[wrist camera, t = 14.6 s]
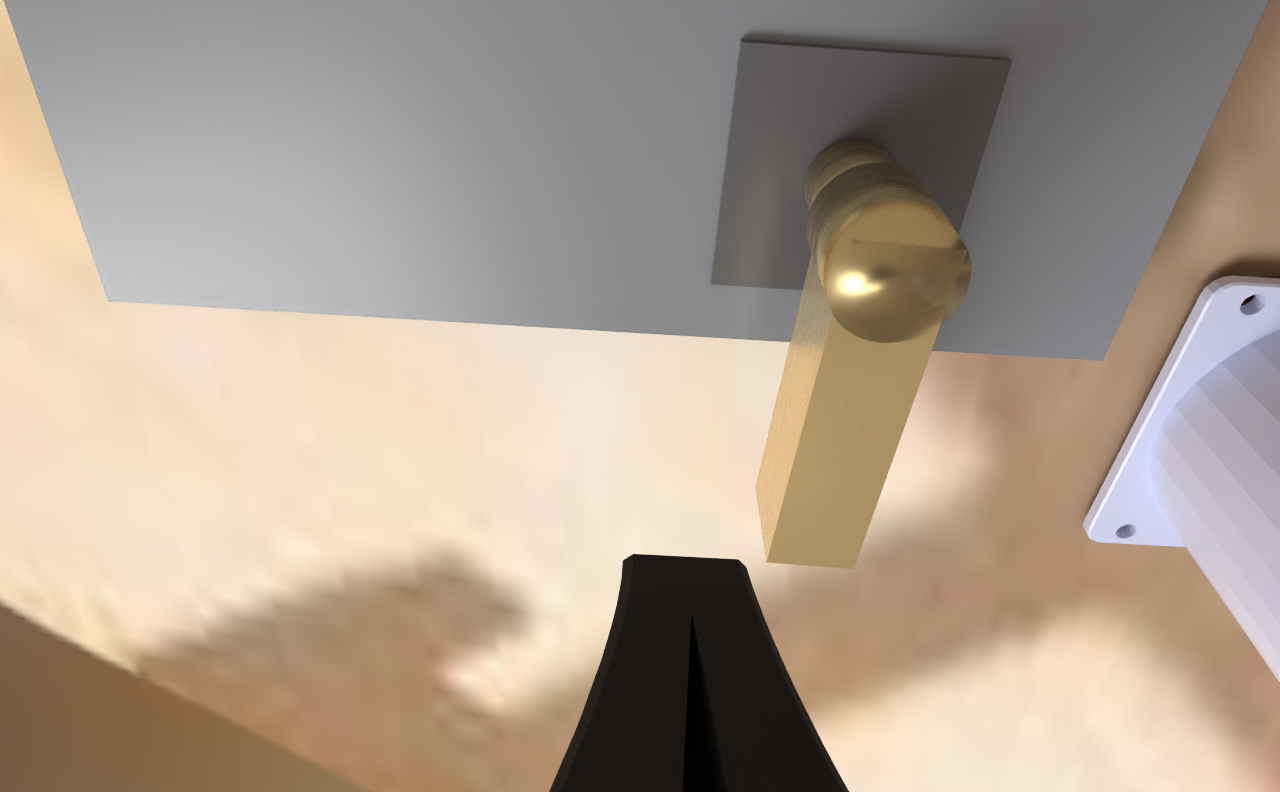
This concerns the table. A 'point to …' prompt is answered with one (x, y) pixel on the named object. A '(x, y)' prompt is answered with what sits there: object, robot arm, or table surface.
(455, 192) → the case
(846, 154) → the key
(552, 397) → the table surface
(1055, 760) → the table surface
